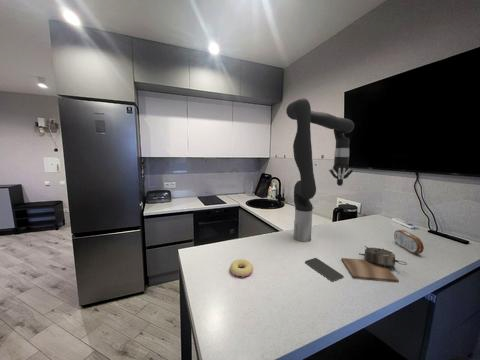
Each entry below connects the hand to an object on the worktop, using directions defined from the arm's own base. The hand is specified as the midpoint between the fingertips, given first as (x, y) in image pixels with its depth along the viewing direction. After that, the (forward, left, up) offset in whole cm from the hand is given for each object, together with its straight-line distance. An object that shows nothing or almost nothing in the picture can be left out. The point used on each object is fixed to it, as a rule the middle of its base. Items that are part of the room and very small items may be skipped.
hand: (339, 185), depth 115 cm
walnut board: (0, -39, -29) cm, 49 cm away
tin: (+28, -17, -29) cm, 44 cm away
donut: (-52, -47, -30) cm, 76 cm away
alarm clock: (+3, -27, -26) cm, 38 cm away
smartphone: (-18, -41, -30) cm, 54 cm away
